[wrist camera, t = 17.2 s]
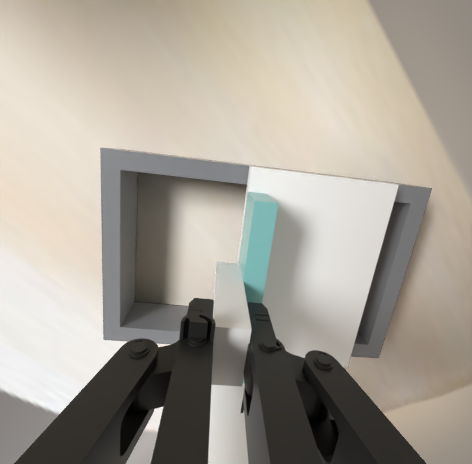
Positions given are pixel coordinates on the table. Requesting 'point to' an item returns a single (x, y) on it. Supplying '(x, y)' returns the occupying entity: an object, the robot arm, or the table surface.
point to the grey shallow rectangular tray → (131, 162)
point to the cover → (312, 254)
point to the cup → (227, 426)
